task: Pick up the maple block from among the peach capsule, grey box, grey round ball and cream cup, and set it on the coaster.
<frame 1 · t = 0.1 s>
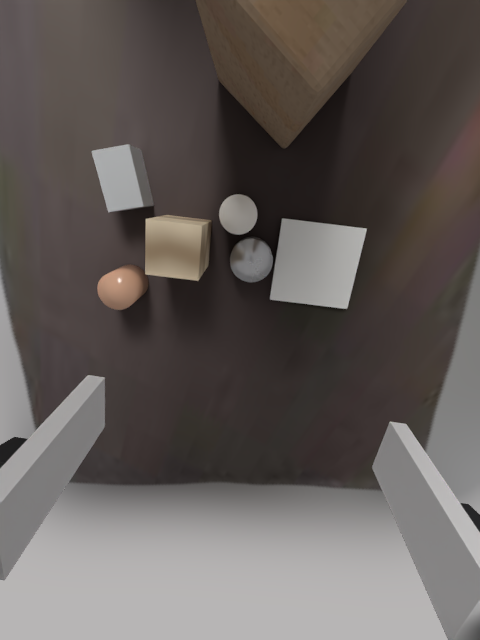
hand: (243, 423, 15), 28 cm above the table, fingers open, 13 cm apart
maple block: (188, 240, 39), on the table
wooden block: (284, 75, 33), on the table
cream cup: (240, 212, 38), on the table
peach capsule: (131, 281, 42), on the table
coaster: (315, 264, 40), on the table
grey box: (131, 181, 37), on the table
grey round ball: (251, 256, 40), on the table
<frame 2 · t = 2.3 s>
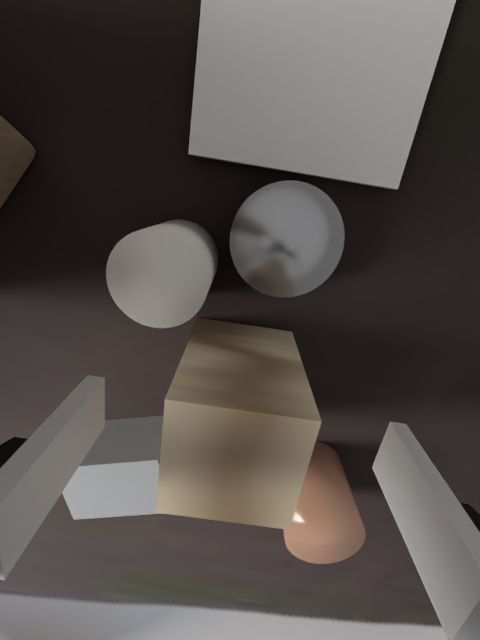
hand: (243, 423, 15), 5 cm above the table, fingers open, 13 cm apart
maple block: (238, 365, 20), on the table
cream cup: (181, 258, 17), on the table
peach capsule: (308, 466, 22), on the table
coaster: (317, 46, 14), on the table
grey box: (136, 441, 22), on the table
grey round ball: (280, 235, 17), on the table
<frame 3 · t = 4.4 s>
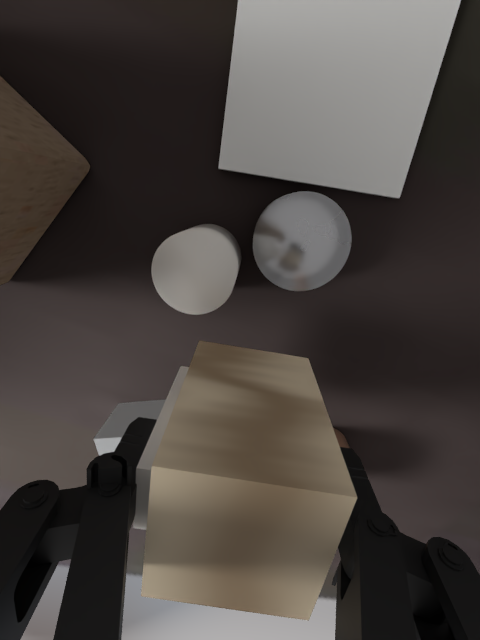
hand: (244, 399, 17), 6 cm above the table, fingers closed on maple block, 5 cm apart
maple block: (244, 395, 17), point 5 cm above the table, touching gripper
cream cup: (209, 257, 20), on the table
coaster: (329, 78, 16), on the table
grey box: (163, 421, 25), on the table
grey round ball: (295, 237, 19), on the table
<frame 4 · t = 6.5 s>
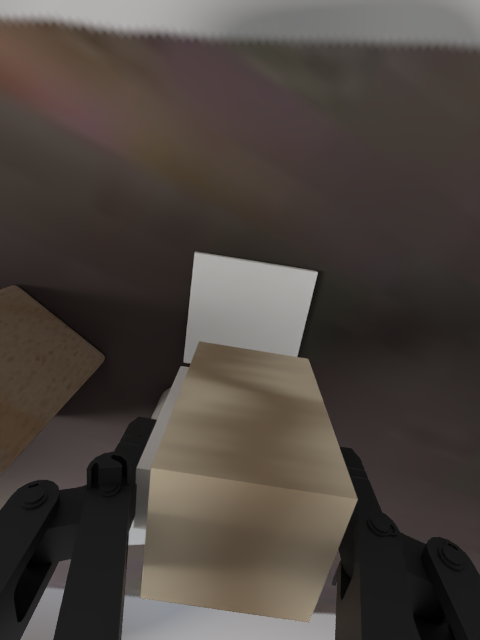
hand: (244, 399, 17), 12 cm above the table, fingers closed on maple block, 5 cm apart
maple block: (244, 396, 17), point 12 cm above the table, touching gripper
wooden block: (36, 354, 30), on the table
coaster: (246, 317, 28), on the table
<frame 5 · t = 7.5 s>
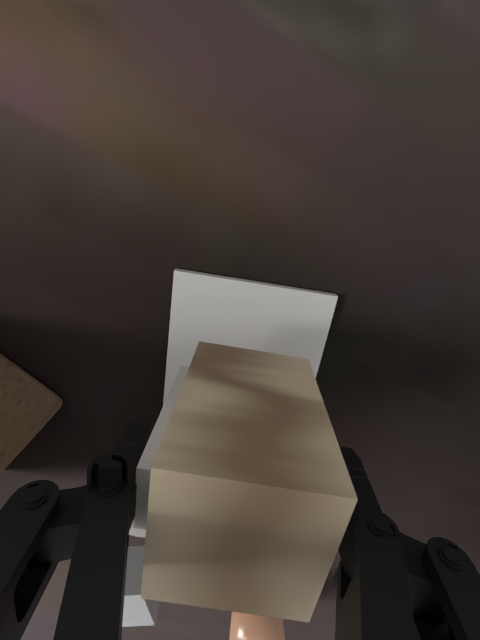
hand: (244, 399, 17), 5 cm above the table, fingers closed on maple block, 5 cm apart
maple block: (244, 396, 17), point 5 cm above the table, touching gripper
peach capsule: (257, 580, 30), on the table
coaster: (243, 352, 22), on the table
grey box: (130, 560, 30), on the table
when the fingers open (1 cm above the table, at t = 8.6 s): maple block stays where it is, resting on coaster.
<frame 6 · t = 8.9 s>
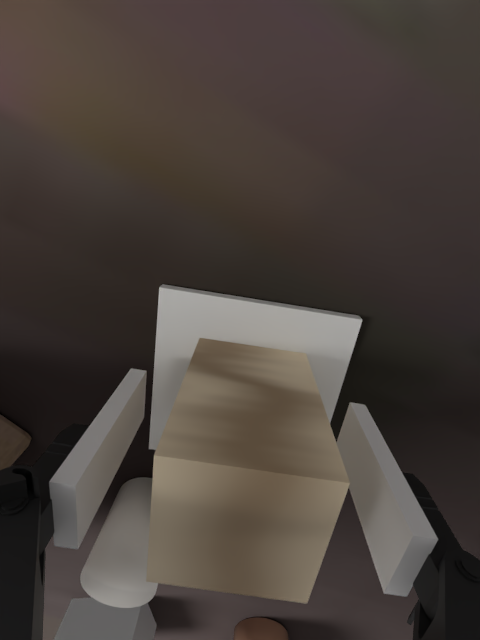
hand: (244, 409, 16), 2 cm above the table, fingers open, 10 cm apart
maple block: (244, 391, 17), point 1 cm above the table, touching coaster
cream cup: (147, 500, 21), on the table
peach capsule: (261, 634, 26), on the table
coaster: (245, 384, 18), on the table
grey box: (115, 610, 26), on the table
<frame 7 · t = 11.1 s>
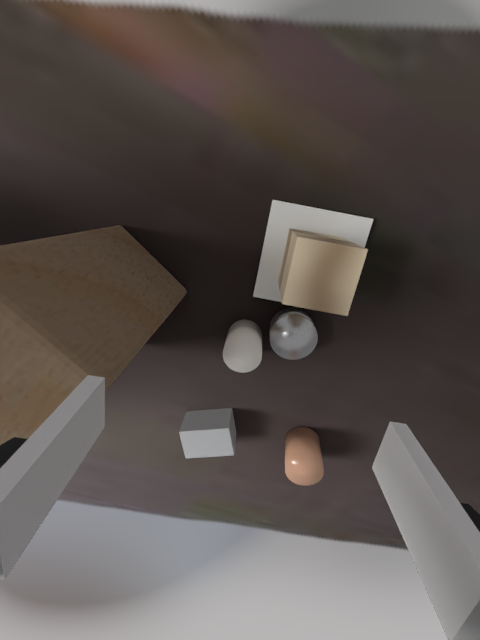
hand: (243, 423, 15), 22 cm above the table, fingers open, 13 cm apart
maple block: (309, 260, 33), point 1 cm above the table, touching coaster
wooden block: (128, 287, 36), on the table
cream cup: (244, 335, 37), on the table
peach capsule: (302, 440, 42), on the table
coaster: (309, 258, 33), on the table
grey box: (211, 421, 42), on the table
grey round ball: (291, 327, 36), on the table
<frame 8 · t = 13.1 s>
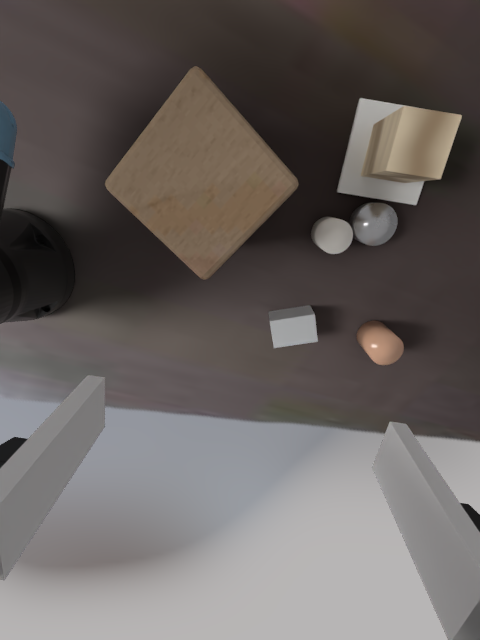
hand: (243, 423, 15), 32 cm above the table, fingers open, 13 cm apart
maple block: (389, 154, 38), point 1 cm above the table, touching coaster
wooden block: (224, 190, 41), on the table
cream cup: (326, 232, 42), on the table
peach capsule: (371, 334, 47), on the table
coaster: (387, 154, 39), on the table
grey box: (290, 320, 47), on the table
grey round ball: (367, 223, 42), on the table
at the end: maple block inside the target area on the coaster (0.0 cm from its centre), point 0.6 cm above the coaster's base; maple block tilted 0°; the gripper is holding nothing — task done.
